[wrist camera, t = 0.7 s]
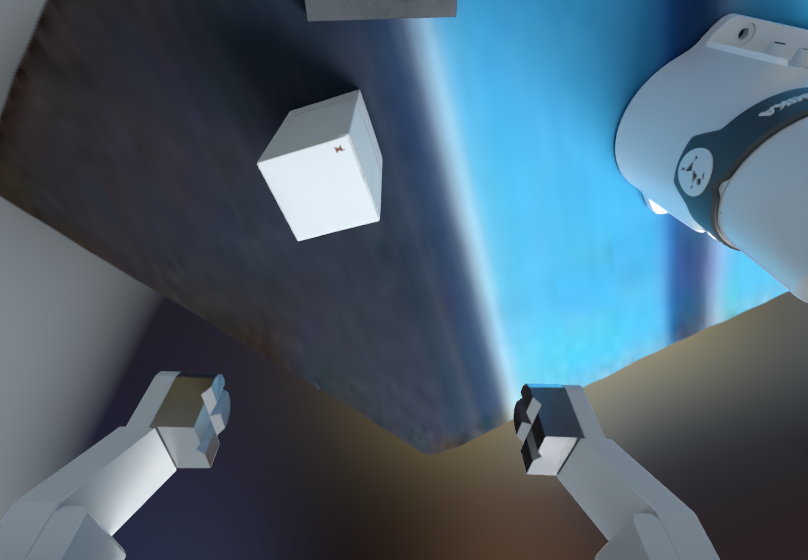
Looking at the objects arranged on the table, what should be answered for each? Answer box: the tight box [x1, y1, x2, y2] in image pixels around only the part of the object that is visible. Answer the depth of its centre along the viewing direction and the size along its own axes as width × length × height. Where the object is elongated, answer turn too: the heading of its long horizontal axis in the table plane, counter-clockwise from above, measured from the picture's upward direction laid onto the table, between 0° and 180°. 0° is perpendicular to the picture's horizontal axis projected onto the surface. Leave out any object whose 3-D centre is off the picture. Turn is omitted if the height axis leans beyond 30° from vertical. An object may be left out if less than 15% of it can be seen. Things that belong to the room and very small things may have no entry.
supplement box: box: [257, 90, 382, 241], centre depth 36 cm, size 7×7×13 cm
